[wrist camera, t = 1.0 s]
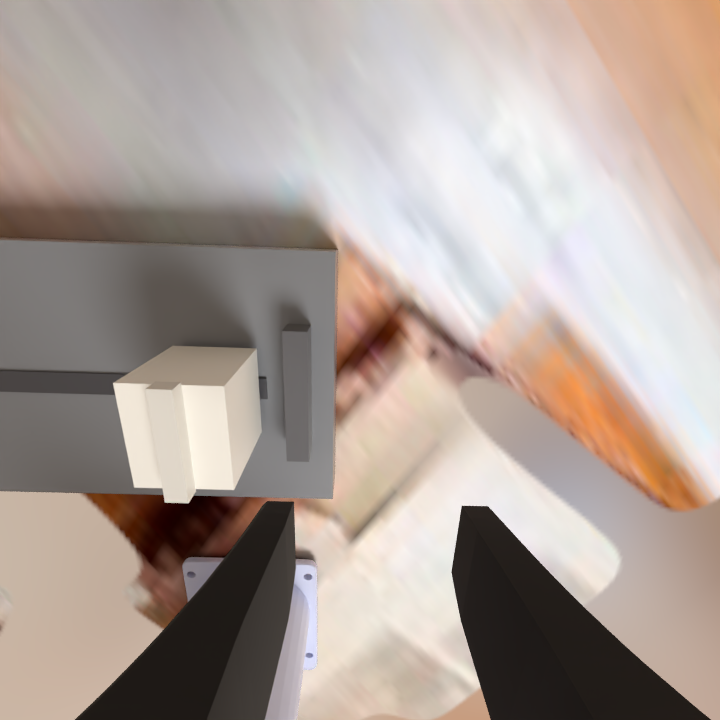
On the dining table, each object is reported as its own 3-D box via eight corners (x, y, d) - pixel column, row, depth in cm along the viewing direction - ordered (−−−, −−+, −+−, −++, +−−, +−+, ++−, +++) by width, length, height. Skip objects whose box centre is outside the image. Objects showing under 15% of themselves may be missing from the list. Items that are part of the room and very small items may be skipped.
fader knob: (261, 433, 17) (228, 504, 12) (184, 431, 17) (124, 501, 12) (256, 346, 15) (216, 391, 11) (172, 343, 15) (99, 387, 11)
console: (334, 474, 20) (330, 516, 17) (-182, 461, 20) (-278, 502, 17) (338, 249, 16) (333, 253, 13) (-307, 226, 16) (-462, 225, 13)
